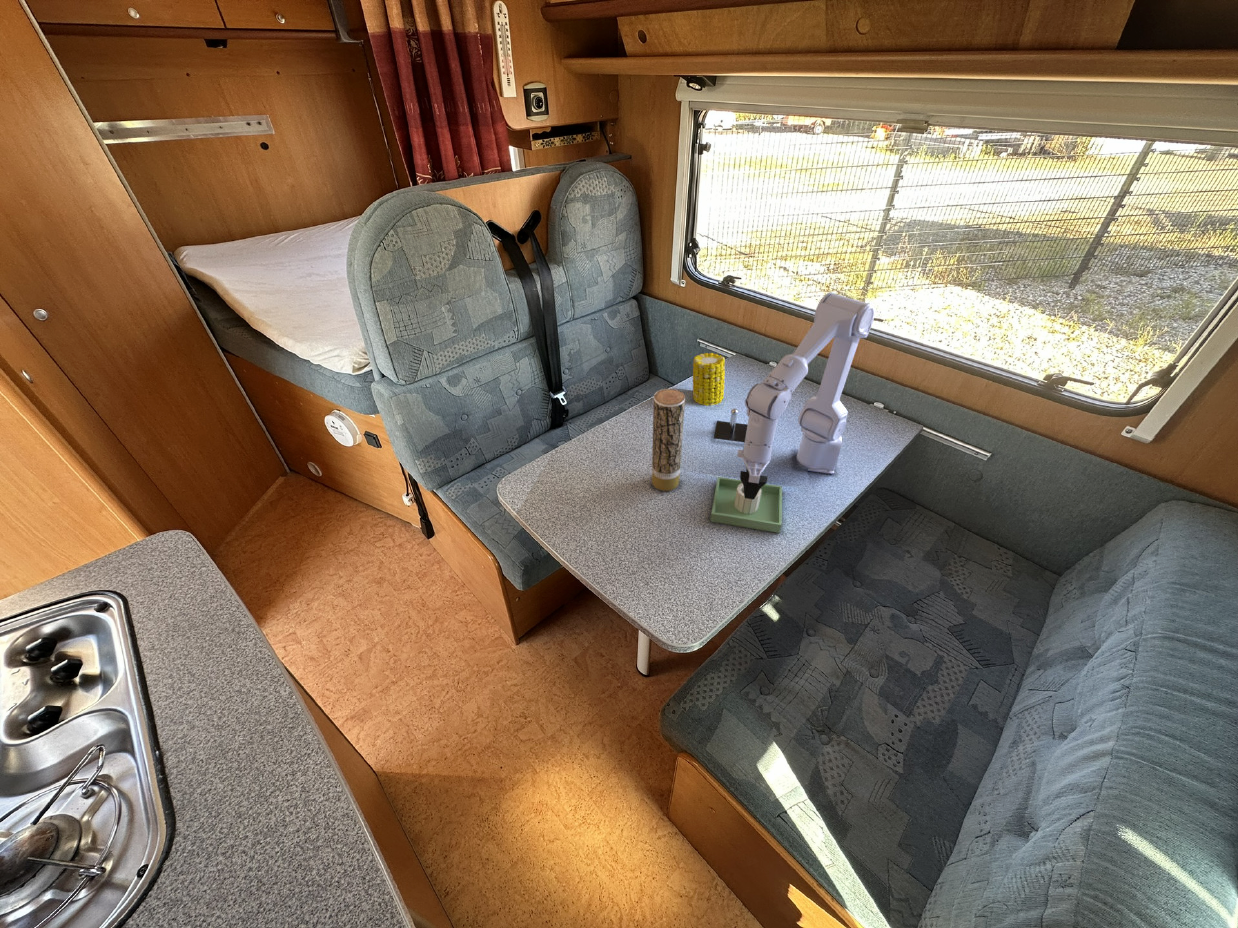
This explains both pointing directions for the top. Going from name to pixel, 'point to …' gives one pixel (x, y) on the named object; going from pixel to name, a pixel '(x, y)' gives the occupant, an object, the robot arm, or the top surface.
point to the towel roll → (746, 501)
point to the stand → (731, 429)
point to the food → (708, 379)
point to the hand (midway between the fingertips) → (750, 486)
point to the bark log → (667, 438)
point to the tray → (762, 519)
